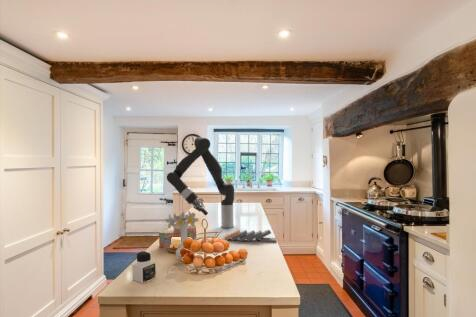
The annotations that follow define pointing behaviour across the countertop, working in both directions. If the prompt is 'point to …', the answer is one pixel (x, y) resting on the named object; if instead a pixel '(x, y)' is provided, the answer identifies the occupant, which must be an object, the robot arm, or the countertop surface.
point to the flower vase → (182, 226)
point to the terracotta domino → (232, 234)
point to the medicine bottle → (144, 267)
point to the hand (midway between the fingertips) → (206, 214)
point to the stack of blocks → (174, 235)
